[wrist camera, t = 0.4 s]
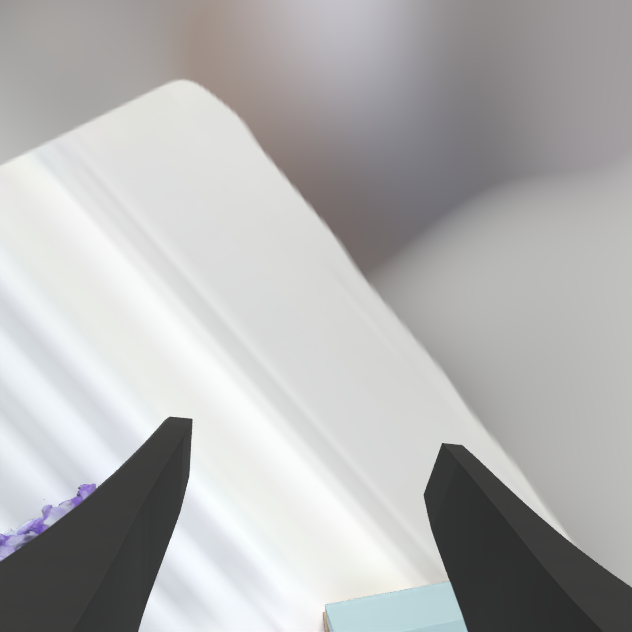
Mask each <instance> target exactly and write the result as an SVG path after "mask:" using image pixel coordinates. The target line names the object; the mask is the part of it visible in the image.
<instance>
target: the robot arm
mask: <svg viewBox="0 0 632 632" xmlns="http://www.w3.org/2000/svg"><path fill="white" fill-rule="evenodd" d="M191 436H192V419H188V418H178V417H169V418H167V419H166V420H165V421H164V422H163V423H162V424H161V425H160V426H159V428H158V429H157V430H156V431H155V432H154V433H153V434H152V435H151V436H150V438H149V439H148V440H147V441H146V442H145V443H144V444H143V445H142V446H141V447H140V448H139V449H138V450H137V451H136V452H135V453H134V454H133V455H132V456H131V457H130V458H129V459H128V460H127V461H126V462H125V463H124V464H123V465H122V466H121V467H120V468H119V469H118V470H117V471H116V472H115V473H114V474H112V475H111V476H110V477H109V478H108V479H107V480H106V481H105V482H103V483H102V484H101V485H100V486H99V487H98V488H97V489H96V490H94V491H93V492H92V493H91V494H90V495H89V496H88V497H86V498H85V499H84V500H83V501H82V502H80V503H79V504H78V505H77V506H76V507H74V508H73V509H72V510H71V511H69V512H68V513H67V514H66V515H64V516H63V517H62V518H60V519H59V520H58V521H56V522H55V523H54V524H52V525H51V526H50V527H49V528H47V529H46V530H44V531H43V532H42V533H40V534H39V535H37V536H36V537H35V538H33V539H32V540H30V541H29V542H27V543H26V544H25V545H23V546H22V547H20V548H19V549H18V550H16V551H15V552H13V553H12V554H10V555H9V556H7V557H6V558H4V559H3V560H1V561H0V632H138V630H139V626H140V623H141V619H142V616H143V613H144V610H145V607H146V604H147V601H148V598H149V595H150V593H151V590H152V587H153V585H154V582H155V579H156V576H157V574H158V571H159V568H160V566H161V563H162V560H163V558H164V555H165V552H166V549H167V547H168V544H169V541H170V539H171V536H172V533H173V530H174V528H175V525H176V522H177V519H178V517H179V514H180V511H181V507H182V503H183V499H184V495H185V491H186V487H187V483H188V479H189V471H190V454H191ZM424 499H425V504H426V508H427V513H428V517H429V521H430V526H431V530H432V533H433V536H434V539H435V541H436V544H437V547H438V550H439V553H440V555H441V558H442V561H443V564H444V567H445V569H446V572H447V575H448V577H449V580H450V583H451V586H452V588H453V591H454V594H455V597H456V599H457V602H458V605H459V608H460V610H461V613H462V616H463V619H464V622H465V625H466V628H467V631H468V632H632V588H631V587H630V586H629V585H627V584H626V583H624V582H623V581H622V580H620V579H619V578H617V577H616V576H614V575H613V574H612V573H610V572H609V571H607V570H606V569H605V568H603V567H602V566H600V565H599V564H598V563H597V562H595V561H594V560H593V559H591V558H590V557H589V556H587V555H586V554H585V553H583V552H582V551H581V550H579V549H578V548H577V547H576V546H574V545H573V544H572V543H571V542H569V541H568V540H567V539H566V538H564V537H563V536H562V535H561V534H559V533H558V532H557V531H556V530H555V529H554V528H552V527H551V526H550V525H549V524H548V523H547V522H545V521H544V520H543V519H542V518H541V517H539V516H538V515H537V514H536V513H535V512H534V511H533V510H532V509H530V508H529V507H528V506H527V505H526V504H525V503H524V502H523V501H522V500H521V499H519V498H518V497H517V496H516V495H515V494H514V493H513V492H512V491H511V490H510V489H509V488H508V487H507V486H505V485H504V484H503V483H502V482H501V481H500V480H499V479H498V478H497V477H496V476H495V475H494V474H493V473H492V472H491V471H490V470H489V469H488V468H486V467H485V466H484V465H483V464H482V463H481V462H480V461H479V460H478V459H477V458H476V457H475V456H474V455H473V454H472V453H470V452H469V451H468V450H467V449H466V448H465V447H464V446H462V445H455V444H445V443H442V445H441V448H440V451H439V454H438V456H437V459H436V462H435V465H434V468H433V470H432V473H431V476H430V479H429V481H428V484H427V487H426V490H425V493H424Z"/></svg>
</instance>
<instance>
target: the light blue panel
mask: <svg viewBox="0 0 632 632" xmlns="http://www.w3.org/2000/svg"><path fill="white" fill-rule="evenodd" d="M325 610H326V619H327V624H328V627H329V631H330V632H468V631H467V628H466V625H465V622H464V619H463V616H462V613H461V610H460V608H459V605H458V602H457V599H456V597H455V594H454V591H453V588H452V586H451V583H450V581H448V582H442V583H437V584H432V585H426V586H421V587H416V588H411V589H405V590H400V591H395V592H389V593H384V594H379V595H373V596H368V597H363V598H358V599H352V600H347V601H342V602H336V603H331V604H326V605H325Z"/></svg>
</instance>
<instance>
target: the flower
mask: <svg viewBox="0 0 632 632" xmlns="http://www.w3.org/2000/svg"><path fill="white" fill-rule="evenodd" d="M78 489H80V490H79V491H78V494H77V496H76V497H75V498H73V499H71V500H68V501H65V502H62V503H61V504H59V506H58V507H55V508H52V505H47V506H44V507H43V509H42V513H43V517H41V518H38V519H32V520H29V521H27V522H25V523H24V524H23V525H22V526H20V527H19V528H17V529H16V530H15V531H12V529H9V530H7V531H6V532H5V533H4V534H0V561H1V560H3V559H4V558H6V557H7V556H9V555H10V554H12V553H13V552H15V551H16V550H18V549H19V548H20V547H22V546H23V545H25V544H26V543H27V542H29V541H30V540H32V539H33V538H35V537H36V536H37V535H39V534H40V533H42V532H43V531H44V530H46V529H47V528H49V527H50V526H51V525H52V524H54V523H55V522H56V521H58V520H59V519H60V518H62V517H63V516H64V515H66V514H67V513H68V512H69V511H71V510H72V509H73V508H74V507H76V506H77V505H78V504H79V503H80V502H82V501H83V500H84V499H85V498H86V497H88V496H89V495H90V494H91V493H92V492H93V491H94V490H96V484H92V485H86V484H83V485H81V486H80V487H79V488H78ZM44 500H45V499H44Z"/></svg>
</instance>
